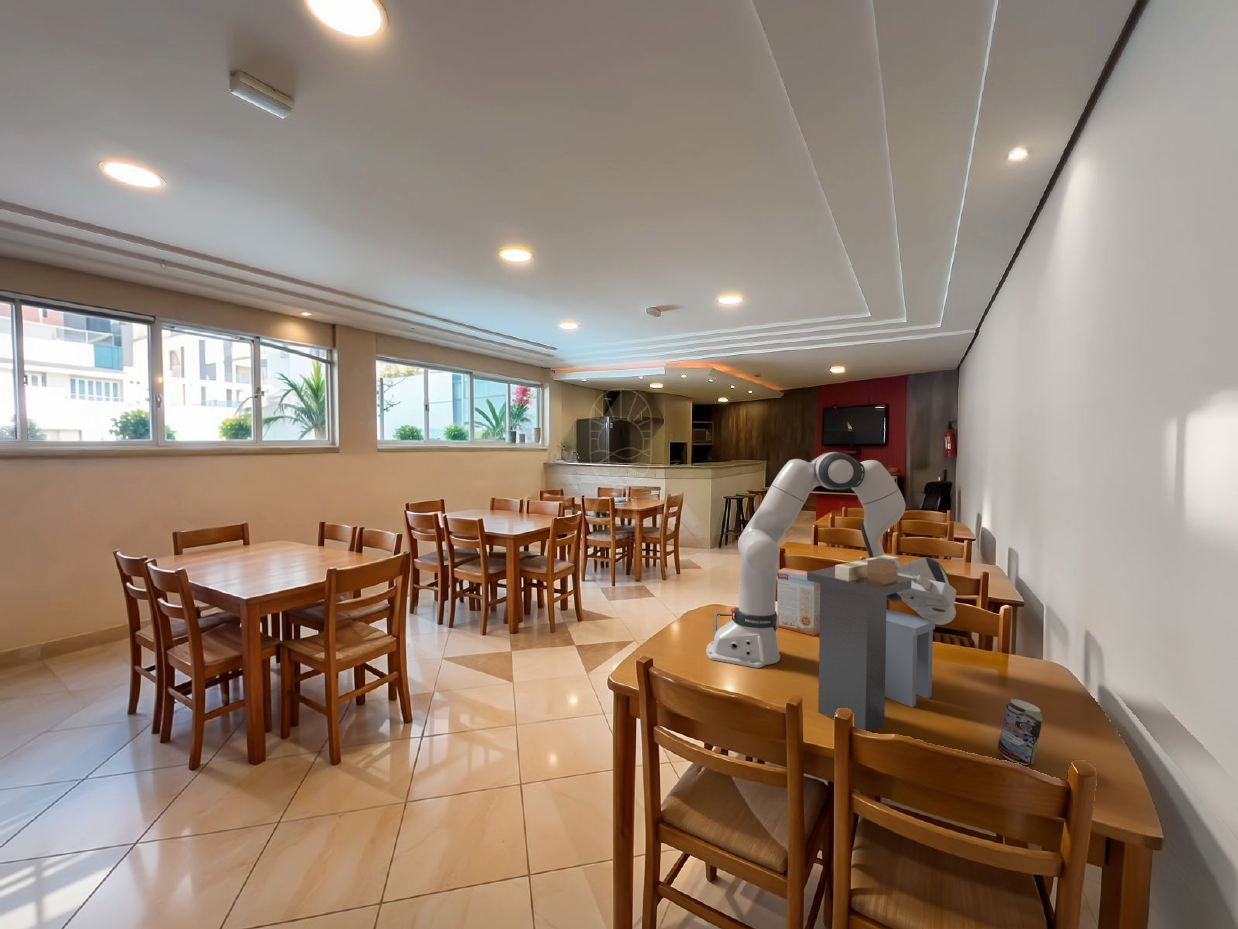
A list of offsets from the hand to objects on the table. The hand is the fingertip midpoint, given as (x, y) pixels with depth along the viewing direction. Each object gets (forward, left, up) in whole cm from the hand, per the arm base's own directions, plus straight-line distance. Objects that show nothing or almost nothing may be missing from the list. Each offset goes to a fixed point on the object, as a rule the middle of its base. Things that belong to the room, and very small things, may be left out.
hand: (897, 574), depth 133 cm
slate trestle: (+2, +2, -32) cm, 32 cm away
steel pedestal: (-12, -14, -32) cm, 37 cm away
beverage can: (+17, -24, -32) cm, 44 cm away
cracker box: (-20, +46, -32) cm, 59 cm away
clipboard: (-40, +43, -33) cm, 67 cm away
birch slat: (-9, -10, +2) cm, 14 cm away
